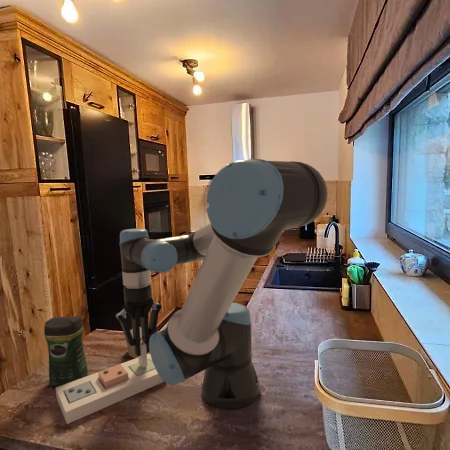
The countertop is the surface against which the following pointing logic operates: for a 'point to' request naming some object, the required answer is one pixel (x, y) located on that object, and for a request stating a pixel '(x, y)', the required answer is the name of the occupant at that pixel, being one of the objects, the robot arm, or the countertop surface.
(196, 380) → the countertop surface
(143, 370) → the one-pip button
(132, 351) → the ceramic mug
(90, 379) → the button panel
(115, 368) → the two-pip button
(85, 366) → the coffee jar
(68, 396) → the three-pip button
